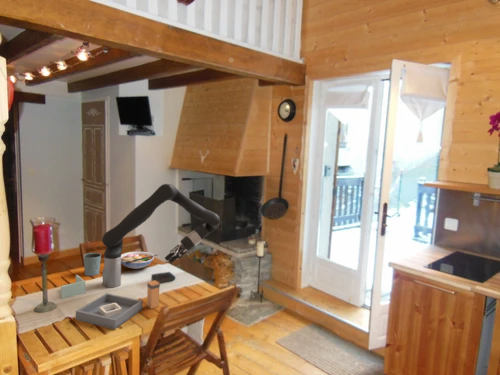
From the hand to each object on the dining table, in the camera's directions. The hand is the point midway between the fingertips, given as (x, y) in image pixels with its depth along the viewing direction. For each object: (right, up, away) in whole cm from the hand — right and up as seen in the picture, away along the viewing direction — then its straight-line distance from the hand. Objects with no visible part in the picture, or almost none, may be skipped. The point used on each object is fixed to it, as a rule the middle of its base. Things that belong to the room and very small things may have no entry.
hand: (167, 260), depth 194 cm
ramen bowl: (-33, -15, +52) cm, 63 cm away
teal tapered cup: (-56, -16, +37) cm, 69 cm away
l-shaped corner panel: (-56, -20, +9) cm, 60 cm away
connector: (-7, -24, -1) cm, 25 cm away
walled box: (-25, -24, -13) cm, 37 cm away
